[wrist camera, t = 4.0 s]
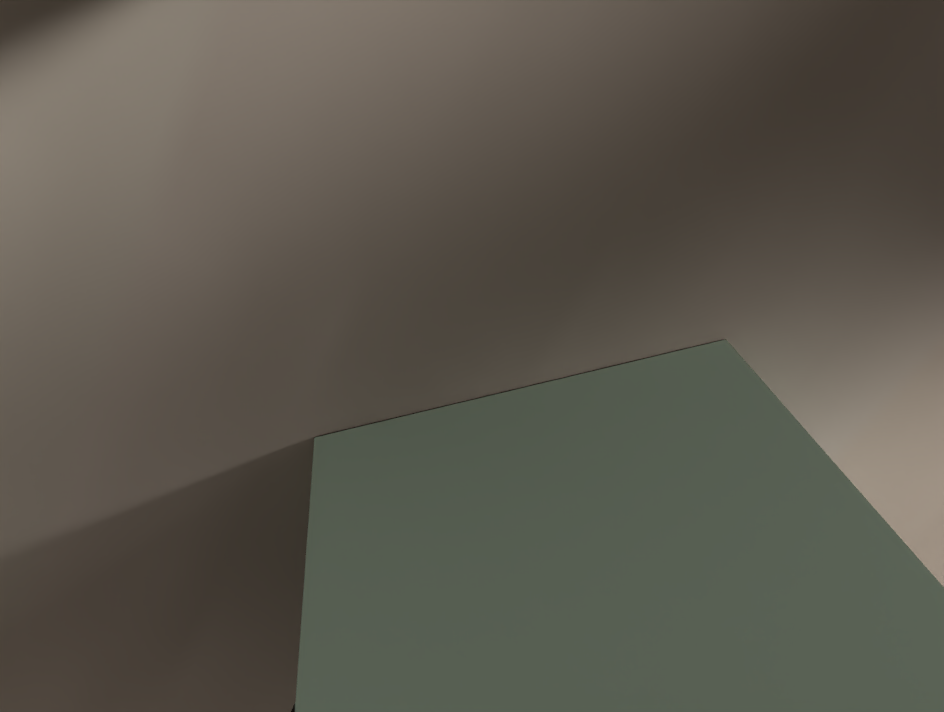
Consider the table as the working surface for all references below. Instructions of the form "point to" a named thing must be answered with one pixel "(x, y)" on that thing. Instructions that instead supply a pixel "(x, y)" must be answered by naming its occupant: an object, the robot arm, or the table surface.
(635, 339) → the table surface
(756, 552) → the sage block
